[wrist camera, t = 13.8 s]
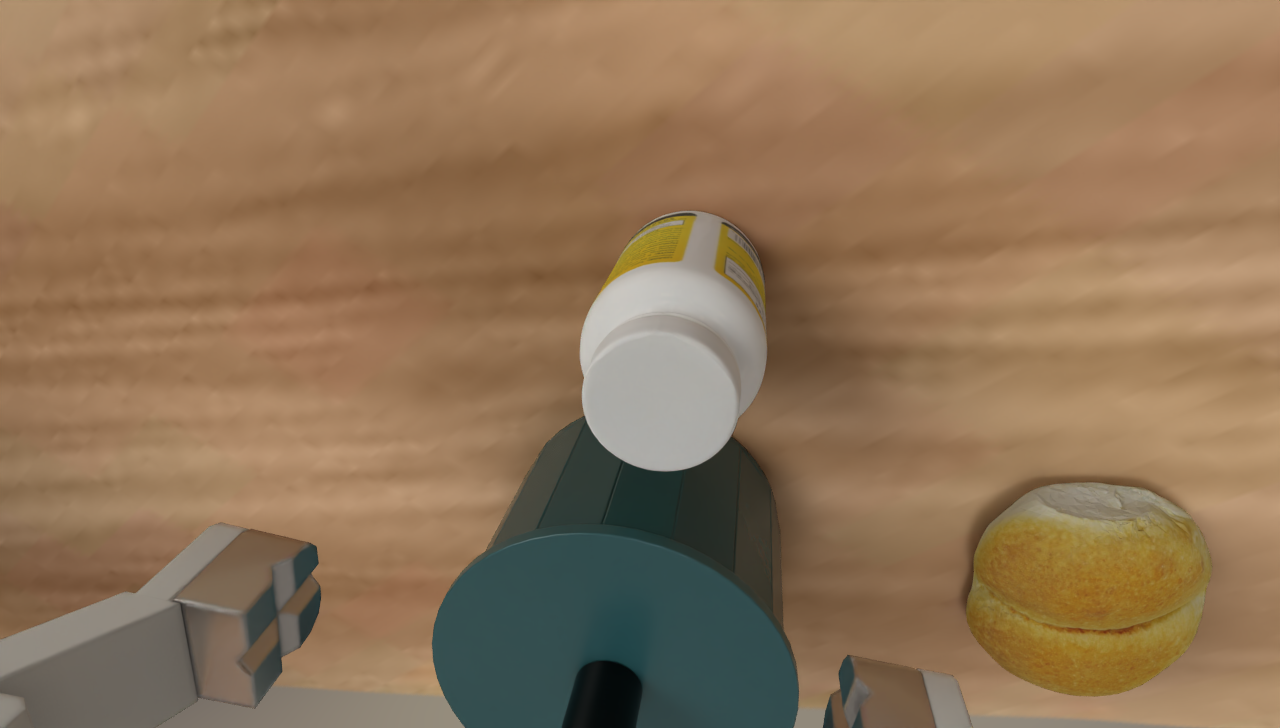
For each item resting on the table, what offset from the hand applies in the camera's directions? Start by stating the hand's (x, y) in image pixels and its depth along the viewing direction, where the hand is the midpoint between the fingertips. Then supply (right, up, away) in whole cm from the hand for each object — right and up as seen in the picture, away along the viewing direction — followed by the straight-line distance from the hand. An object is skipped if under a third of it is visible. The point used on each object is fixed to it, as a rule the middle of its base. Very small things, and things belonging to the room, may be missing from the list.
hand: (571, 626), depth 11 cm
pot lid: (0, -6, +13) cm, 14 cm away
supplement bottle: (+3, +7, +16) cm, 18 cm away
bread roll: (+18, -4, +18) cm, 26 cm away
